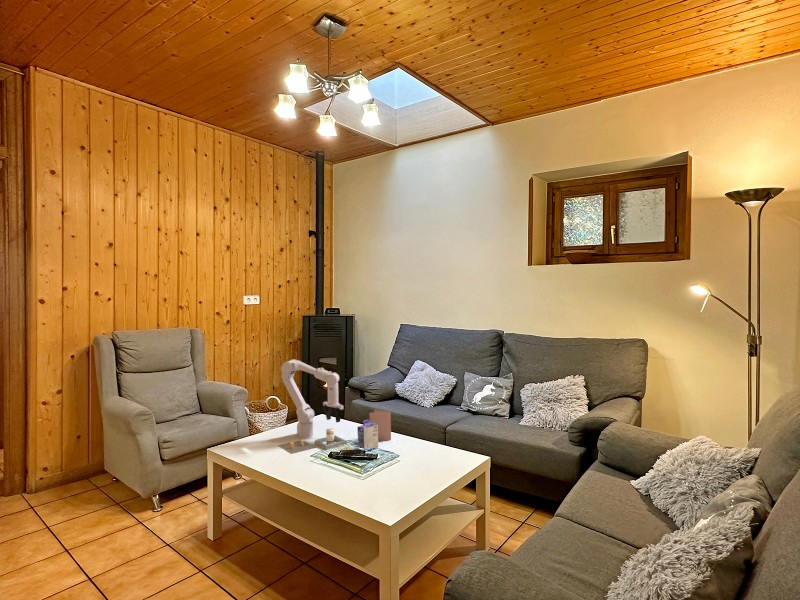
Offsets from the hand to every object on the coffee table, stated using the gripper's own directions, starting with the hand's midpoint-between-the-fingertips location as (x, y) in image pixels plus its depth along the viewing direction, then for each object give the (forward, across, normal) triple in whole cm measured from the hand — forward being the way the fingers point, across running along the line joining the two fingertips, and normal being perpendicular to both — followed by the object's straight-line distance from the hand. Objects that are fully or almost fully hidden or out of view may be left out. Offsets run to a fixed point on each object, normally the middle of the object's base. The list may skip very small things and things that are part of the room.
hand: (333, 420), depth 246 cm
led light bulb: (+9, +8, -9) cm, 15 cm away
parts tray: (+10, +8, -8) cm, 15 cm away
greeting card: (+11, +19, +16) cm, 27 cm away
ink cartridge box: (+11, +25, +2) cm, 27 cm away
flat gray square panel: (+10, -3, -22) cm, 24 cm away
